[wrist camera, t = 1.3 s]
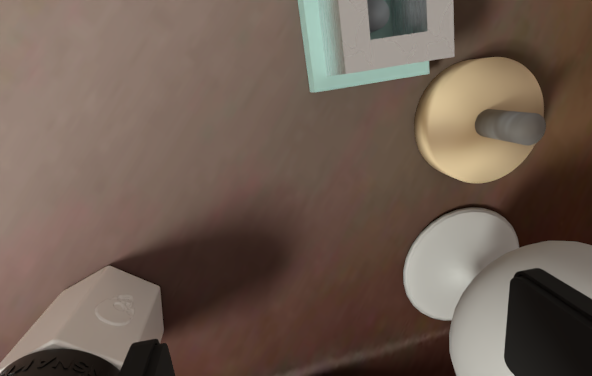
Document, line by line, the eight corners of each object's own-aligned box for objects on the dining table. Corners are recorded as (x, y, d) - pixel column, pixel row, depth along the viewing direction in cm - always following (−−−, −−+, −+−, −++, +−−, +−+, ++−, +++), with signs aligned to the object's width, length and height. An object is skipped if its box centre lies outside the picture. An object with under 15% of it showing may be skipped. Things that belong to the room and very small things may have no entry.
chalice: (513, 318, 38) (677, 457, 24) (388, 332, 36) (485, 495, 22) (535, 192, 34) (749, 268, 20) (396, 200, 32) (523, 292, 18)
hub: (410, 69, 29) (462, 63, 22) (523, 50, 30) (603, 40, 23) (417, 185, 32) (463, 211, 25) (519, 165, 33) (589, 185, 26)
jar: (185, 293, 31) (154, 411, 20) (144, 364, 33) (92, 512, 21) (83, 250, 29) (-18, 356, 18) (43, 328, 30) (-76, 474, 19)
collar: (313, -31, 24) (331, -60, 19) (411, -44, 25) (452, -74, 20) (326, 76, 26) (345, 74, 21) (416, 61, 27) (454, 56, 22)
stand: (292, -37, 26) (300, -55, 22) (411, -51, 27) (435, -71, 23) (310, 91, 28) (319, 92, 25) (417, 74, 29) (439, 72, 26)
